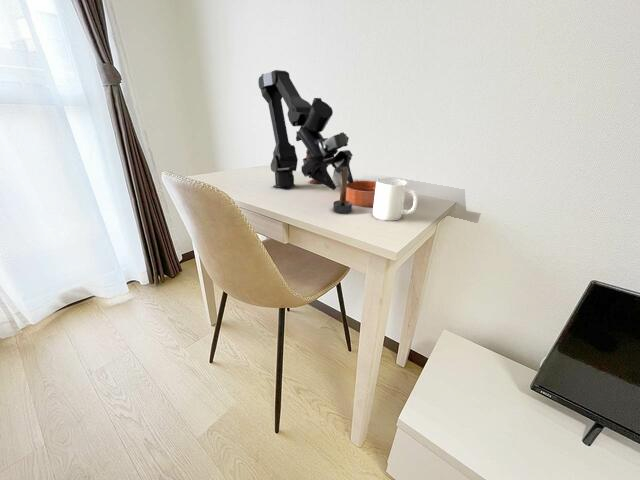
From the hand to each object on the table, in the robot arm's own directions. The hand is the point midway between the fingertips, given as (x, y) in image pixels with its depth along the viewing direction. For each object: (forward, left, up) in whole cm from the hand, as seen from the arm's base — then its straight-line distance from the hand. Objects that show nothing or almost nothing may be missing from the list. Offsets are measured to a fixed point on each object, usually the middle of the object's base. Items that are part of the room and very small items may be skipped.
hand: (343, 185), depth 75 cm
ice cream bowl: (-22, +26, -8) cm, 35 cm away
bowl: (+3, +13, -8) cm, 15 cm away
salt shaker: (-12, +27, -8) cm, 31 cm away
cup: (+15, +2, -8) cm, 17 cm away
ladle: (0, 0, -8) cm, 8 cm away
